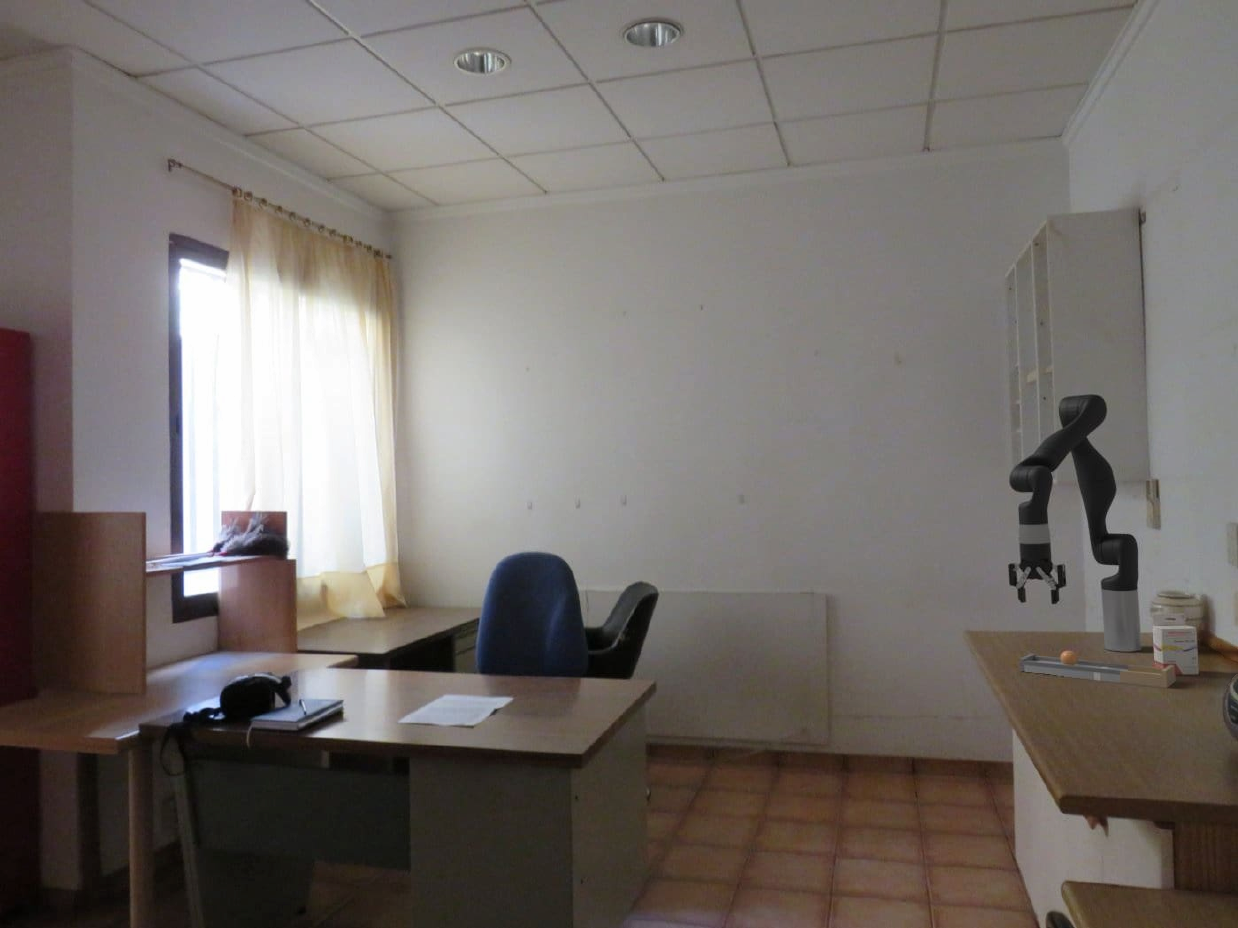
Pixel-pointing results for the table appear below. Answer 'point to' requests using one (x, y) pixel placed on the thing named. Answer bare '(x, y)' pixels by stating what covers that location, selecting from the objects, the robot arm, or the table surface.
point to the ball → (1069, 658)
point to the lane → (1101, 671)
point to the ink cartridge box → (1175, 643)
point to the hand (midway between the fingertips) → (1038, 602)
